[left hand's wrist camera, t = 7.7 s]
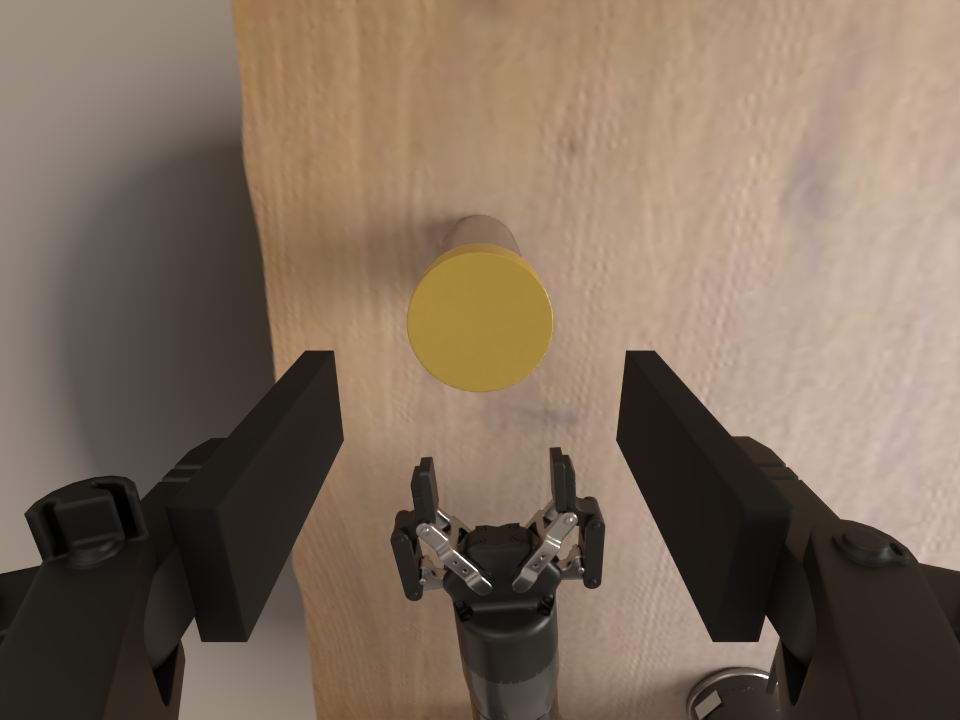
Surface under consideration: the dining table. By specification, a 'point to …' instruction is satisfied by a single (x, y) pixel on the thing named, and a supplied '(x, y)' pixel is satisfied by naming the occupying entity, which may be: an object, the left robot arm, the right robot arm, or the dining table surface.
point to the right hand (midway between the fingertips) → (490, 458)
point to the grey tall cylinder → (480, 234)
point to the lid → (479, 318)
